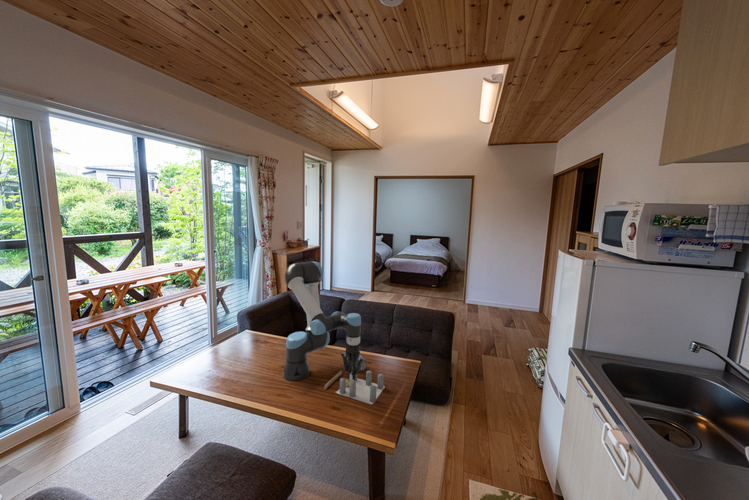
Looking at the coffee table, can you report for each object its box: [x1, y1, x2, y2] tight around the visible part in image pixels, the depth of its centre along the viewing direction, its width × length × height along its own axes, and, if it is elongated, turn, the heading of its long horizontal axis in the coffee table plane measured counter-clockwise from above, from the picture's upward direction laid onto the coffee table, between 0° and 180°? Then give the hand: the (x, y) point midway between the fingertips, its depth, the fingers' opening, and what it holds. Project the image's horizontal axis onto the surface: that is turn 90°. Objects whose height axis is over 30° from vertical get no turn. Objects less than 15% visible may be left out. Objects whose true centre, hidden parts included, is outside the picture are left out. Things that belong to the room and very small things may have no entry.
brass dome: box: [345, 378, 350, 387], centre depth 155 cm, size 4×4×2 cm
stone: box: [356, 353, 368, 371], centre depth 174 cm, size 10×10×10 cm
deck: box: [323, 367, 386, 405], centre depth 153 cm, size 29×17×8 cm, turn 66°
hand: (351, 384), depth 154 cm, fingers closed
